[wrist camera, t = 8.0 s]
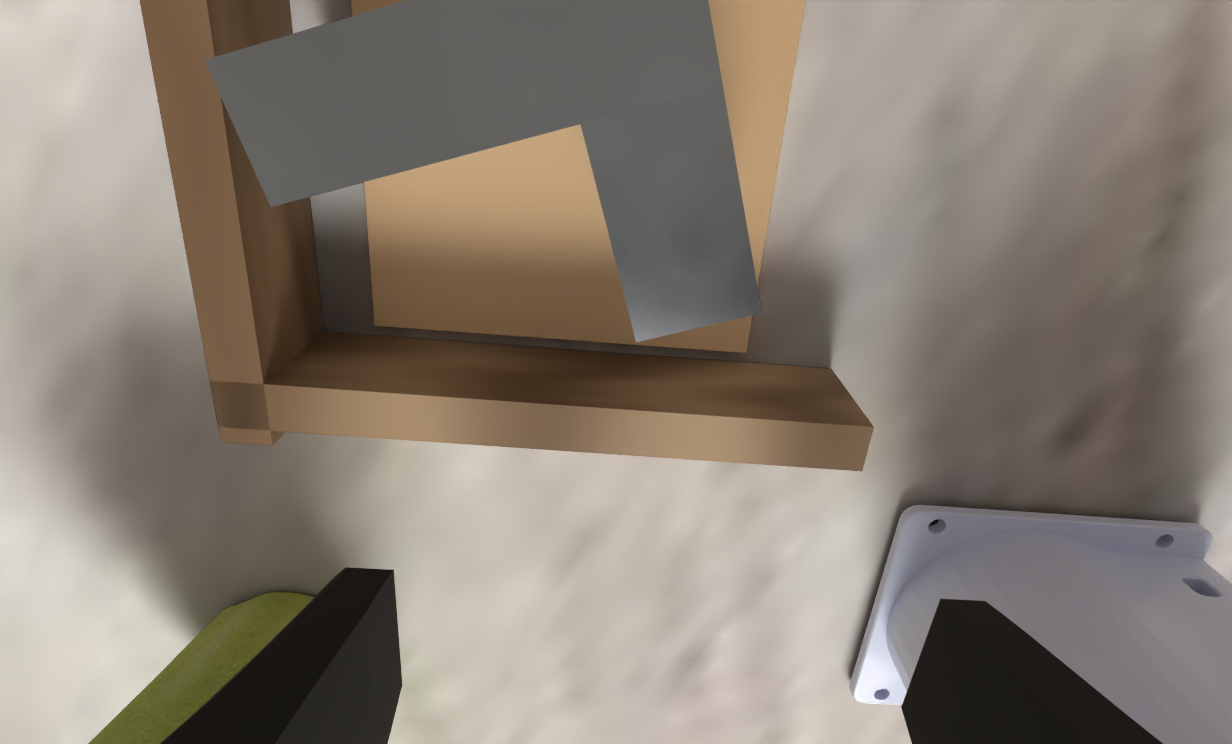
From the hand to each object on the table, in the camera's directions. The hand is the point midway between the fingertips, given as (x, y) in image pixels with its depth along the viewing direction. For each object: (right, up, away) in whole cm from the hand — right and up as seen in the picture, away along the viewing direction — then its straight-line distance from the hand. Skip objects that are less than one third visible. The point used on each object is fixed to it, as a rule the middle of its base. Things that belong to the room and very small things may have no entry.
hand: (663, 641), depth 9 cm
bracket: (-3, +9, +7) cm, 12 cm away
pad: (-2, +8, +8) cm, 12 cm away
